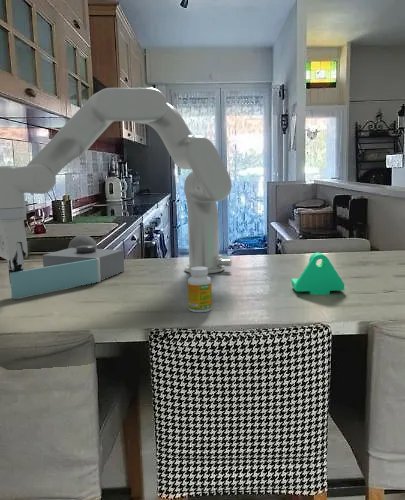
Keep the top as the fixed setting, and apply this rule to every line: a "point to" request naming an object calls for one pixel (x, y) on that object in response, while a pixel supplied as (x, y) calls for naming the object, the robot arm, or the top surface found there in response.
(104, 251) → the grey box with knob
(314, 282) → the camera mount
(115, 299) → the top surface
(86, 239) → the decorative ball
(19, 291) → the door
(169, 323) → the top surface
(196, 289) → the supplement bottle
